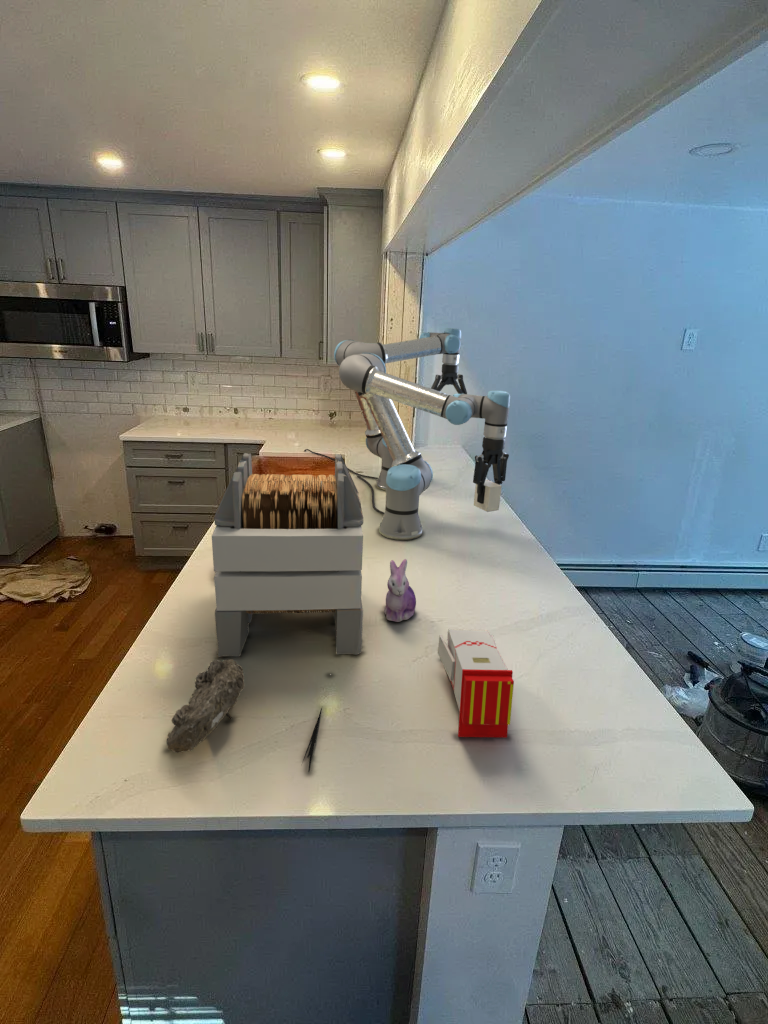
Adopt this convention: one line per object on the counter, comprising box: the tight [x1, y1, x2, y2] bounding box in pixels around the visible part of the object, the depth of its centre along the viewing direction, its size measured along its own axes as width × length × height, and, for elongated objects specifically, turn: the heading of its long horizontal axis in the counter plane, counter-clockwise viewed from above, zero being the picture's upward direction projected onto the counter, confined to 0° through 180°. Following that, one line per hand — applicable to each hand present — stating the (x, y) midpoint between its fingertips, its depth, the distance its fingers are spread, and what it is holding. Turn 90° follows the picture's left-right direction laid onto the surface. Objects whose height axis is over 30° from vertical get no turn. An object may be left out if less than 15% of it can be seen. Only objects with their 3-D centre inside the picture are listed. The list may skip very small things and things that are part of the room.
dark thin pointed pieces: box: [301, 673, 332, 771], centre depth 108 cm, size 2×28×2 cm
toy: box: [437, 628, 515, 738], centre depth 117 cm, size 12×13×30 cm
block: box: [473, 479, 503, 513], centre depth 200 cm, size 5×8×9 cm
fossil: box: [166, 658, 245, 754], centre depth 106 cm, size 22×10×15 cm
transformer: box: [211, 452, 364, 658], centre depth 136 cm, size 34×33×41 cm
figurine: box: [384, 558, 417, 623], centre depth 145 cm, size 9×10×15 cm
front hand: (486, 501), depth 201 cm, fingers closed on block, 5 cm apart
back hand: (446, 410), depth 266 cm, fingers open, 13 cm apart
